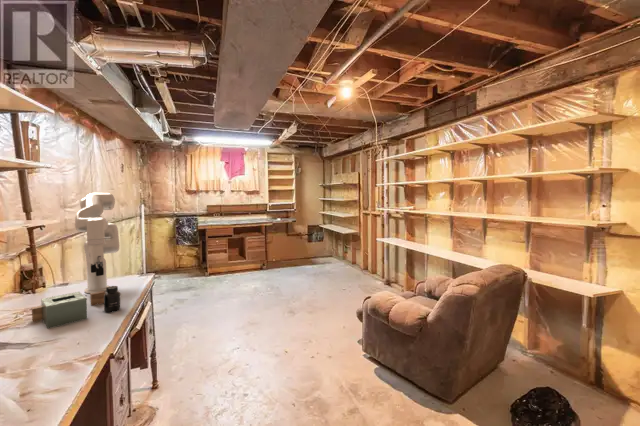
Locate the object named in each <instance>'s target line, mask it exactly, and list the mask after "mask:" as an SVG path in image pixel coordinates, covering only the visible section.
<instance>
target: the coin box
mask: <svg viewBox="0 0 640 426" xmlns="http://www.w3.org/2000/svg"><path fill="white" fill-rule="evenodd" d="M40 302H41V304H40V306H42V320H41V321H42V322H43V324H44V326H45V327H46V329H53V328H56V327H60V326H65V325H69V324H72V323H75V322H80V321H84V320H87V319H88V309H87V308H88V307H87V305H88V304H87V297H86V296H85V295H84V294H82V293H81V292H80V291H75V292H70V293H65V294H61V295H59V294H58V295H55V296H50V297H45V298H41V300H40Z"/></svg>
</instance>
